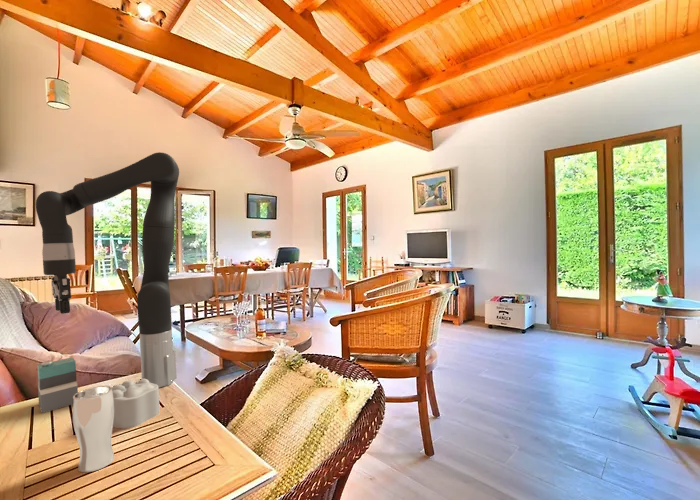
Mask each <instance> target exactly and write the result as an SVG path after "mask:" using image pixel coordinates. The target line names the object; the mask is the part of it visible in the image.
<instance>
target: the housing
mask: <svg viewBox="0 0 700 500" xmlns="http://www.w3.org/2000/svg"><path fill="white" fill-rule="evenodd" d="M76 366H77V364H76V360H75V358H74V357H73V356H72V357H68V358H64V359H59V360H46V361H43V362H41V363H40V364H36V368H37V381H38V382H37V387H38V386H39V388H40V390H43V389H47V388H51V387H55V386H59V385H63V384H67V383H71V382H75V381H77V367H76ZM77 382H78V381H77Z"/></svg>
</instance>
